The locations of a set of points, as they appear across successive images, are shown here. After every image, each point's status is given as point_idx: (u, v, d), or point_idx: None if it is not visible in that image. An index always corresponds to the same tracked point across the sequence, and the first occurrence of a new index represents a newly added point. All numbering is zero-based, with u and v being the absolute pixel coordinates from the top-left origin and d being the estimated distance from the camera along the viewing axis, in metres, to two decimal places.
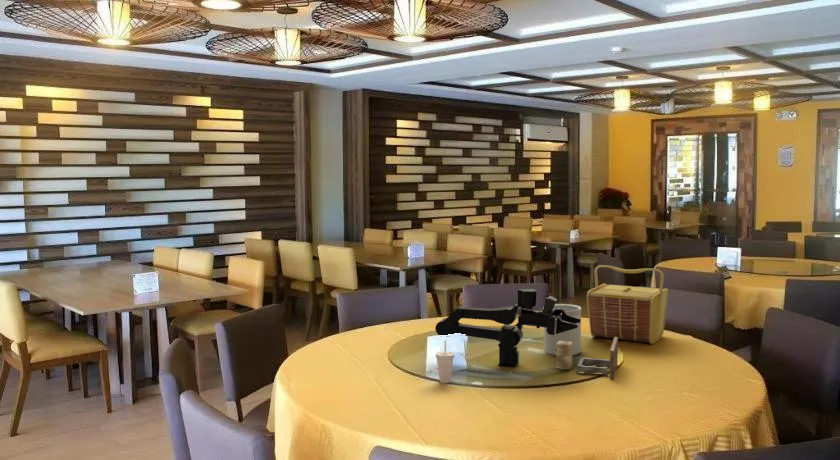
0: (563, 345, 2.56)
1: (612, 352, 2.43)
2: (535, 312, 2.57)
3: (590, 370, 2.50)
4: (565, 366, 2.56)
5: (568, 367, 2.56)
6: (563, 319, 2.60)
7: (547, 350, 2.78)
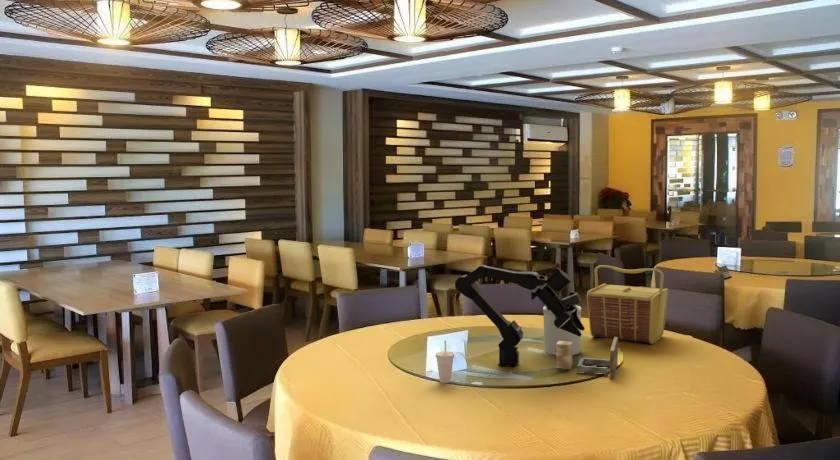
0: (563, 345, 2.56)
1: (612, 352, 2.43)
2: (555, 296, 2.54)
3: (590, 370, 2.50)
4: (565, 366, 2.56)
5: (568, 367, 2.56)
6: (571, 317, 2.60)
7: (547, 350, 2.78)
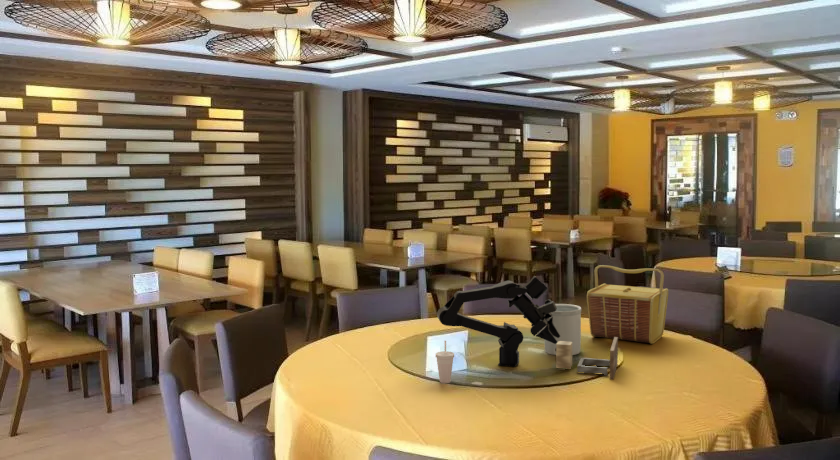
0: (563, 345, 2.56)
1: (612, 352, 2.43)
2: (532, 304, 2.60)
3: (590, 370, 2.50)
4: (565, 366, 2.56)
5: (568, 367, 2.56)
6: (547, 325, 2.65)
7: (547, 350, 2.78)
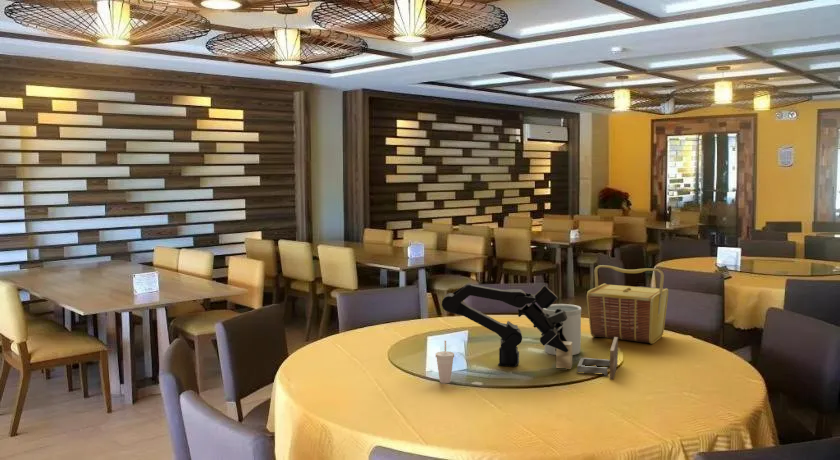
0: None
1: (612, 352, 2.43)
2: (542, 314, 2.58)
3: (590, 370, 2.50)
4: (565, 366, 2.56)
5: (568, 367, 2.56)
6: None
7: (547, 350, 2.78)
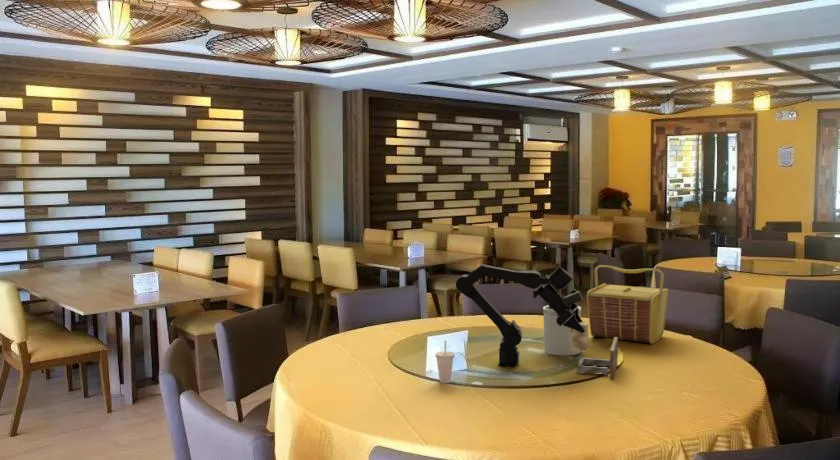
0: None
1: (612, 352, 2.43)
2: (557, 294, 2.56)
3: (590, 370, 2.50)
4: (581, 347, 2.54)
5: (584, 348, 2.53)
6: None
7: (547, 350, 2.78)
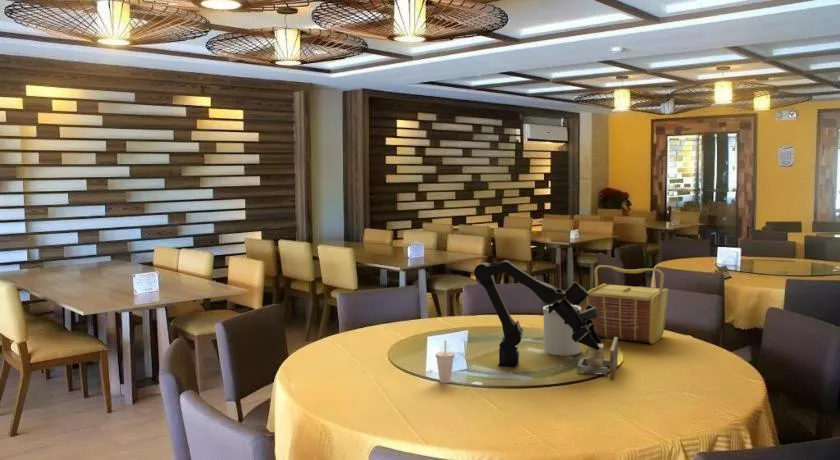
0: None
1: (612, 352, 2.43)
2: (573, 310, 2.55)
3: (590, 370, 2.50)
4: None
5: None
6: None
7: (547, 350, 2.78)
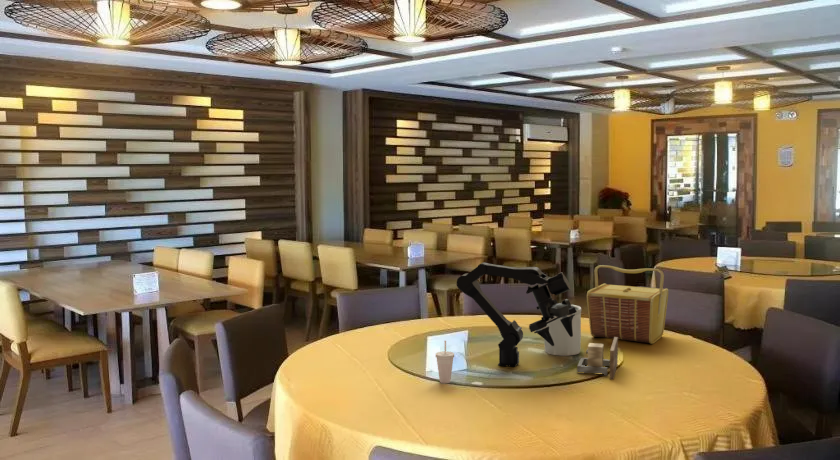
0: (595, 347, 2.52)
1: (612, 352, 2.43)
2: (546, 300, 2.54)
3: (590, 370, 2.50)
4: None
5: None
6: (564, 320, 2.58)
7: (547, 350, 2.78)
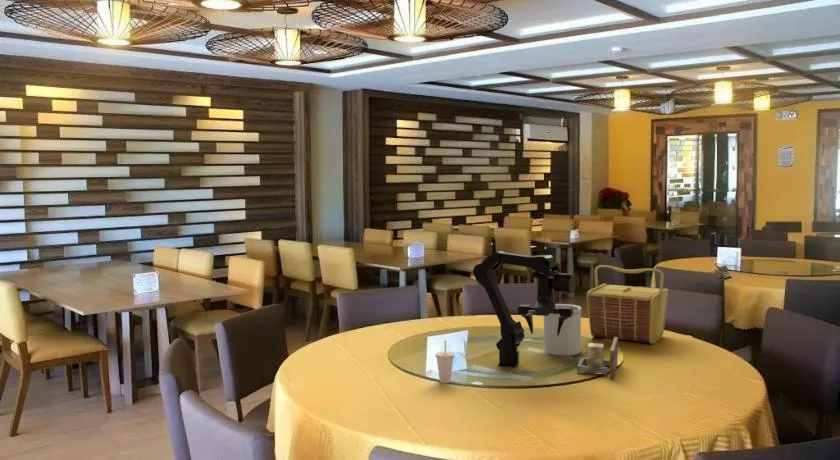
0: (595, 347, 2.52)
1: (612, 352, 2.43)
2: (540, 292, 2.51)
3: (590, 370, 2.50)
4: None
5: None
6: None
7: (547, 350, 2.78)
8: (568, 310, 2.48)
